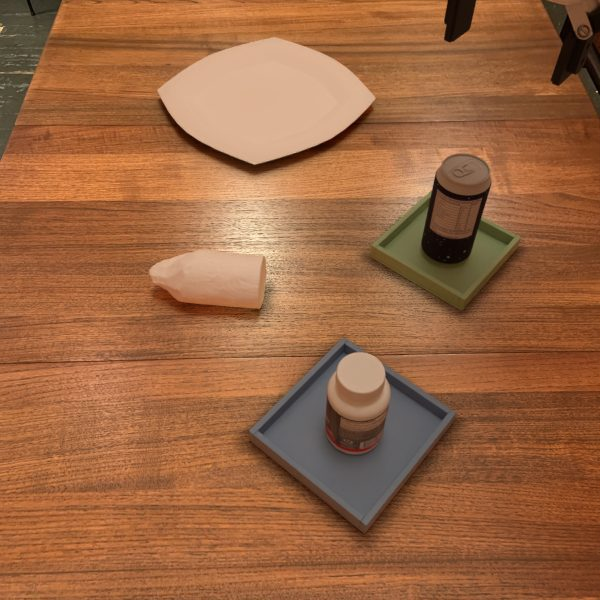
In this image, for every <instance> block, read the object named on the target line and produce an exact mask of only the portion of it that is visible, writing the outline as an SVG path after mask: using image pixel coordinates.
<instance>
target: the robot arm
mask: <svg viewBox="0 0 600 600" xmlns="http://www.w3.org/2000/svg"><path fill="white" fill-rule="evenodd" d="M547 1H548V2H551V3H553V4H554V3H555V4H559V5H563V6H564V7H565V10H566V13H567V15H568V18H569V21H570V23H571V27H572V28H573V29H572V30H571V31H569V32H568V33H567V34H566V35H565V37H564V39H563V41H562V44H561V48H560V50H559V54H558V57H557V60H556V63H555V66H554V68H553V72H552V74H551V78H550V82H551V84H552V85H554V86H556V87H560V86H561V85H562V84H563V83H564V82H565V81H566V80H567V79H568V78H570V76H572V75H575V76H576V75H578V74H579V73H580V72H581V71H582V69H583V67H584V66H585V64H586V61H587V59H588V55H589V53H590V50H591V47H592V45H593V42H594V41H595V40H594V39H595V37H596V34H599V33H600V0H547ZM476 4H477V0H447V2H446V6H445V7H446V8H445V13H444V19H443V23H444V25H446V26H445V31H444V36H443V40H444V42H447V43H453V42H455V41H457V40H458V39H459V38H461V37H462V36H463V35H464V34H466V33H467V32H469V31H470V29H471V27H472V23H473V18H474V13H475V8H476Z"/></svg>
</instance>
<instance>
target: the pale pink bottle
mask: <svg viewBox="0 0 600 600" xmlns="http://www.w3.org/2000/svg"><path fill="white" fill-rule="evenodd" d="M148 275H149V277H150V279H151V282H152V283H153V284H154V285H155V286H158V287H160V288H162V289H164V290H165V291H167V292H168V293H169V294H170V295H171V297H173V298H174V299H175V300H176V301H177V302H180V303H188V304H198V305H208V306H220V307H221V306H222V307H230V308H244V309H257V310H259V309H261V307H262V306H263V303H264V299H265V291H266V282H267V259H266V256H265V255H257V254H248V253H238V252H229V251H228V252H227V251H218V250H211V249H197V250H194V251H192V252H187V253H182V254H179V255H176V256H173V257H170V258H166V259H163V260H161V261H159V262H156V263H155V264H154V265H152V266H151V267H150V268H149V269H148Z"/></svg>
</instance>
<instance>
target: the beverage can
mask: <svg viewBox="0 0 600 600" xmlns="http://www.w3.org/2000/svg"><path fill="white" fill-rule="evenodd" d="M492 182H493V181H492V177H491V167H490V165H489V164H488V162H487V161H485V160H484V159H483V158H481V157H479V156H477V155H475V154H471V153H463V152H460V153H454V154H451V155H448V156H447V157H445V158H444V159H443V160H442V161H441V165H440V166H439V167H438V168H437V169H436V171H435V174H434V179H433V183H432V189H431V191H432V193H431V198H430V202H429V207H428V212H427V217H426V221H425V226H424V231H423V236H422V241H421V246H422V249H423V251H424V252H425V254H426V255H427V256H428V257H430V258H431V259H432V260H434V261H436V262H438V263H441V264H455V263H459V262H462V261H464V260H466V259H467V258H468V257H469V256H470V254H471V251H472V248H473V244H474V241H475V238H476V234H477V231H478V228H479V224H480V221H481V217H483V215H484V210H485V207H486V204H487V201H488V197H489V194H490V190H491V188H492V184H493V183H492Z"/></svg>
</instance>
